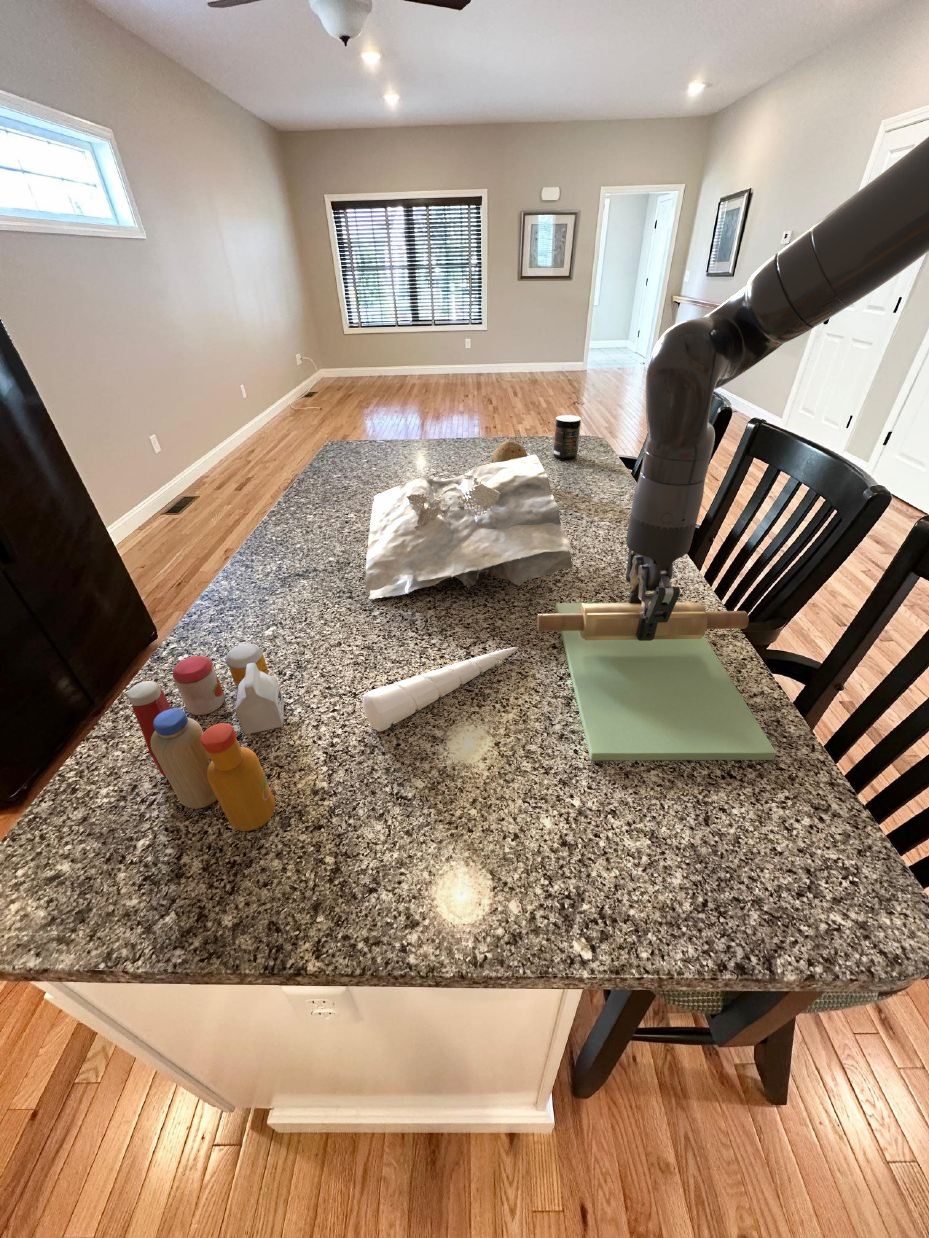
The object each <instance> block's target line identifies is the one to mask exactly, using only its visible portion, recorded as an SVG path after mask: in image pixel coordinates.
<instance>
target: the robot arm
mask: <svg viewBox="0 0 929 1238" xmlns="http://www.w3.org/2000/svg"><path fill="white" fill-rule="evenodd" d="M928 252H929V136H927V137H926V138H925V139H923V140H922V141H921V142H920V143H919V144H918V145H916V146H915V147H914V148H912V149H911V150H909V152H907V153H906V154H905V155H904V156H902V157H901V158H900V159H899V160H897V161H896V162H895V163H894V164H892V165H891V166H889V167H888V168H887V169H885V171H883V172H882V173H881V174H879V175H878V176H877V177H875V178H874V179H873V180H872V181H870V182H869V183H868V184H866V185H865V186H863V187H862V188H861V189H860V190H858V191H857V192H856V193H854V194H853V195H852V196H851V197H849V198H848V199H847V200H845V201H844V202H843V203H841V204H840V205H839V206H838V207H836V208H835V209H833V210H832V211H831V212H829V213H828V214H827V215H825V216H824V217H822V218H821V219H819V220H818V221H817V222H816V223H814V224H813V225H812V226H810V227H809V228H807V230H805V231H804V232H802V233H801V234H799V236H797V237H796V238H795V239H793V240H792V241H791V242H789V243H788V244H786V245H785V246H784V247H783V248H782V249H780V250H779V251H778V252H776V253H775V254H774V255H772V256H771V257H770V258H769V259H767V260H766V261H765V262H764V263H763V264H762V265H761V266H759V268H758V269H756V270H755V271H754V273H753V274H752V275H751V276H750V278H749V279H748V281H747V283H746V286H744V287H743V288H741V290H739V291H738V292H737V293H735V294H734V295H732V296H731V297H730V298H729V299H727V300H726V301H725V302H723V303H722V304H721V305H719V306H717V308H715V309H714V310H712V311H710V312H709V313H707V314H706V315H704V316H702V317H698V318H693V319H688V320H683V321H680V322H678V323H676V324H674V325H672V326H671V327H670V328H668V329H667V330H665V332H664V333H662V335H661V336H660V338H659V339H658V340H657V342H656V343H655V345H654V348H653V349H652V353H651V355H650V358H649V362H648V365H647V370H646V377H645V418H646V428H647V436H646V440H645V445H644V449H643V457H642V461H641V466H640V472H639V476H638V480H637V482H636V485H635V489H634V493H633V498H632V505H631V509H630V515H629V521H628V527H627V532H626V536H625V537H626V538H625V543H626V545H627V546H626V547H628V554H627V555H628V556H627V565H626V576H625V580H626V583H629V585H628V588H627V589H628V593H629V597H628V602H627V603H642V605H641V613H640V619H639V624H638V629H637V633H636V637H637V639H638V640H639V641H651V640H653V639H654V637H655V633H656V628H657V624H658V623H667V622H668V620H669V618H670V615H671V613H672V611H673V609H674V606H675V604H676V602H678V599H679V598H680V595H681V589H680V587H679V586H672V583H671V580H672V579H673V576H674V566H673V565H674V564H673V563H674V562H675V561H676V560H677V561H678V560H679V559H680V558H682V557H685V555H687V554H688V553H689V552H690V549H691V545H692V541H693V538H694V533H695V531H696V526H697V523H698V519H699V514H700V512H701V511H700V510H701V507H702V503H703V498H704V494H705V493H704V491H705V482H706V478H707V475H708V474H707V473H708V469H709V466H710V462H711V458H712V454H713V452H714V451H713V450H714V446H715V441H716V440H715V439H716V432H715V431H716V430H715V428H714V426H713V425H712V423H710V422H709V419H710V414H711V413H710V412H711V406H712V400H713V395H714V392H715V390H717V389H719V388H721V387H723V386H725V385H726V384H728V383H730V382H731V381H733V380H735V379H736V378H738V377H740V375H742V374H743V373H745V372H747V371H748V370H750V369H751V368H753V367H754V366H756V365H757V364H758V363H760V362H761V361H763V360H764V359H765V358H767V357H768V356H769V355H771V354H772V353H773V352H775V351H777V350H778V349H779V348H780V347H782V346H783V345H784V344H786V343H788V342H791V341H793V340H794V339H796V338H799V337H800V336H803V335H804V334H806V333H807V332H809V331H811V330H814V328H815V327H818V326H819V325H821V324H823V323H825V322H826V321H827V320H829V319H831V318H832V317H834V316H836V315H837V314H839V313H840V312H842V311H843V310H845V309H847V308H848V307H850V306H852V305H854V304H855V303H857V302H858V301H860V300H861V299H863V298H865V297H866V296H868V295H869V294H871V293H873V292H874V291H875V290H877V289H879V288H880V287H881V286H883V285H884V284H886V283H887V282H889V281H890V280H892V279H893V278H894V277H896V276H897V275H899V274H900V273H902V272H903V271H904V270H906V269H907V268H909V267H910V266H911V265H912V264H914V263H915V262H917V261H918V260H920V258H922V257H923V256H924V255H926V254H927V253H928ZM649 592H652V593H649ZM649 602H651V603H650V605H649V608H648V603H649Z"/></svg>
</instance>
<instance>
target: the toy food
mask: <svg viewBox="0 0 929 1238" xmlns="http://www.w3.org/2000/svg"><path fill="white" fill-rule="evenodd" d="M225 663H226V664H227V666H228V667H229V672H230V675H231V677H232V680H233V683H234V684H235V686H236V687H237V692H236V699H235V700H236V701H235V709H234V711H235V714H236V717H237V720H238V722H239V724H240V727H241V730H242V732H243V735H250V734H255V733H259V732H266V731H268V730H274V729H279V728H283V726H284V725H285V724H284V723H285V720H284V719H285V700H284V698H283V694H282V691H281V688H280V685H279V682H278V678H277V677H274V676H272V675H270V674H269V669H268V666H267V662H266V659H265V656H264V653H263V650H262V649H261V647H260V646H259V645H257V644H255V643H241V644H238V645H235V646H234V647H231V649H230V650H229V651H228V652H227V654H226V656H225ZM172 678H173V681H174V684H175V686H176V688H177V691H178V692H179V695H180V697H181V699H182V701H183V703H184V706H185V708H186V710H187V711H188V713H190V714H191V715H195V716H204V715H209V714H211V713H213V712H215V711H217V710H218V709H220V707H221V706H223V704H224V702H225V700H226V695H225V693H224V690H223V687H222V684H221V682H220V679H219V677H218V675H217V672H216V669H215V667H214V664H213V661H212V660H211V658H208V656H204V655H193V656H188V657H186V658H184V659H182V660H180V661H179V662H177V664H176V665H175V666H174V667H173V670H172ZM126 697H127V699H128V701H129V703H130V704H131V709H132V711H133V714H134V715H135V718H136V720H137V722H138V725H139V728H140V730H141V733H142V735H143V738H144V741H145V744H146V747H147V750H148V753H149V755H150V757H151V759H152V760H153V762H154V764H155V765H156V767H157V769H158V771H159V773H160V774H161V775H162V776H163V777H166V779H167V781H168V782H169V785H170V786H171V788H172V790H173V791H174V793H175V795H176V798H177V799H178V801H179V802H180V803H181V805H182V806H183V807H185V808H188V809H192V810H198V809H203V808H206V807H208V806H210V805H212V804H214V803H215V802H217V801H218V803H219V805H220V807H221V809H222V811H223V813H224V814H225V817H226V819H227V820H228V822H229V824H230V825H231V827H232V828H233V829H235V830H237V831H240V832H251V831H253V830H254V831H255V830H256V829H258V828H259V829H260V828H261V827H262V826H264V825H266V823H268V821H270V819H271V817H272V816H273V815H274V812H275V809H276V799H275V796H274V794H273V792H272V789H271V787H270V784H269V782H268V780H267V777H266V774H265V772H264V770H263V768H262V765H261V763H260V760H259V757H258V755H257V754H256V753H255V752H254V751H253V750H251V749H250V748H248V747H245V746H240V744H239V741H238V740H237V733H236V731H235V728H234V726H232V725H231V724H230V723H226V722H220V723H216V724H213V725H211V726H210V727H208V728H206V729H205V731H204V730H203V728H202V726H201V725H200V723H199V722H198V721H196V720H195V719H193V718H191V717H188V716H187V713H186V712H185V710H184V709H182V708H178V707H177V708H176V707H175V708H173V707H172V706H171V704H170V702H169V700H168V698H167V696H166V694H165V692H164V691H163V689H162V688H161V687H160V686H159V684H158V683H157V682H155V681H153V680H146V681H140V682H138V683H136V684H135V685H133V686H132V687H130V688H129V689H128V690H127V694H126Z"/></svg>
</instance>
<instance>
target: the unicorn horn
mask: <svg viewBox="0 0 929 1238" xmlns="http://www.w3.org/2000/svg"><path fill="white" fill-rule="evenodd" d="M519 648H520V647H519V646H513V647H508V648H507V647H506V648H503V649H499V650H496V651H492V652H489V653H486V654H482V655H478V656H476V657H472V658H468V659H466V660H462V661H458V662H456V663H453V664H450V665H447V666H444V667H442V668H437V669H434V670H431V671H428V672H427V671H426V672H425V673H421V674H419V675H417V676H412V677H410V678H406V679H403V680H400V681H397V682H394V683H391V684H388V685H385V686H381V687H378V688H374V689H372V690H369V691H367V692H366V693H364V695H363V696H362V700H361V701H362V708H363V711H364V714H365V717H366V719H367V721H368V722H369V725H370V726H371V727H372V728H373V729H374V730H375V731H377V732H383V731H385V730H388V729H390V728H391V726H392V724H393V725H396V724H398V723H399V722H402V721H403V720H404V719H406V718H408V717H410V716H411V715H413V714H415V713H416V710H417V711H420V710H422V709H424V708H425V707H427V706H429V705H430V704H432V703H434V702H436V701H438V700H439V697H440V698H443V697H444V696H446V695H449V693H451V692H453V691H455V690H456V689H458V688H460V686H461V685H465V684H466V683H468V682H470V681H471V680H473V679H475V678H477V677H478V676H480V673H482V674H483V673H485V672H486V671H488V670H490V669H492V668H493V667H495V666H496V665H498V664H499V661H500V662H502V661H504V660H505V659H507V658H508V657H510V656H511V655H512V654H514V653H515V652H516V651H517V650H519Z"/></svg>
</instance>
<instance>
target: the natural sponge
mask: <svg viewBox="0 0 929 1238" xmlns="http://www.w3.org/2000/svg"><path fill="white" fill-rule="evenodd" d="M527 456H528V453H527V450H526V449H525V447H524V446H523V445H522V444H520V443H519V442H517V441H514V440H505V441H503V442H501V443H500V444H499V445H498V446H497V447H496V448H495V450H494V451H493V454H492V456H491V458H490V464H491V463H497V462H504V461H508V460H511V459H517V458H522V457H527Z"/></svg>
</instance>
